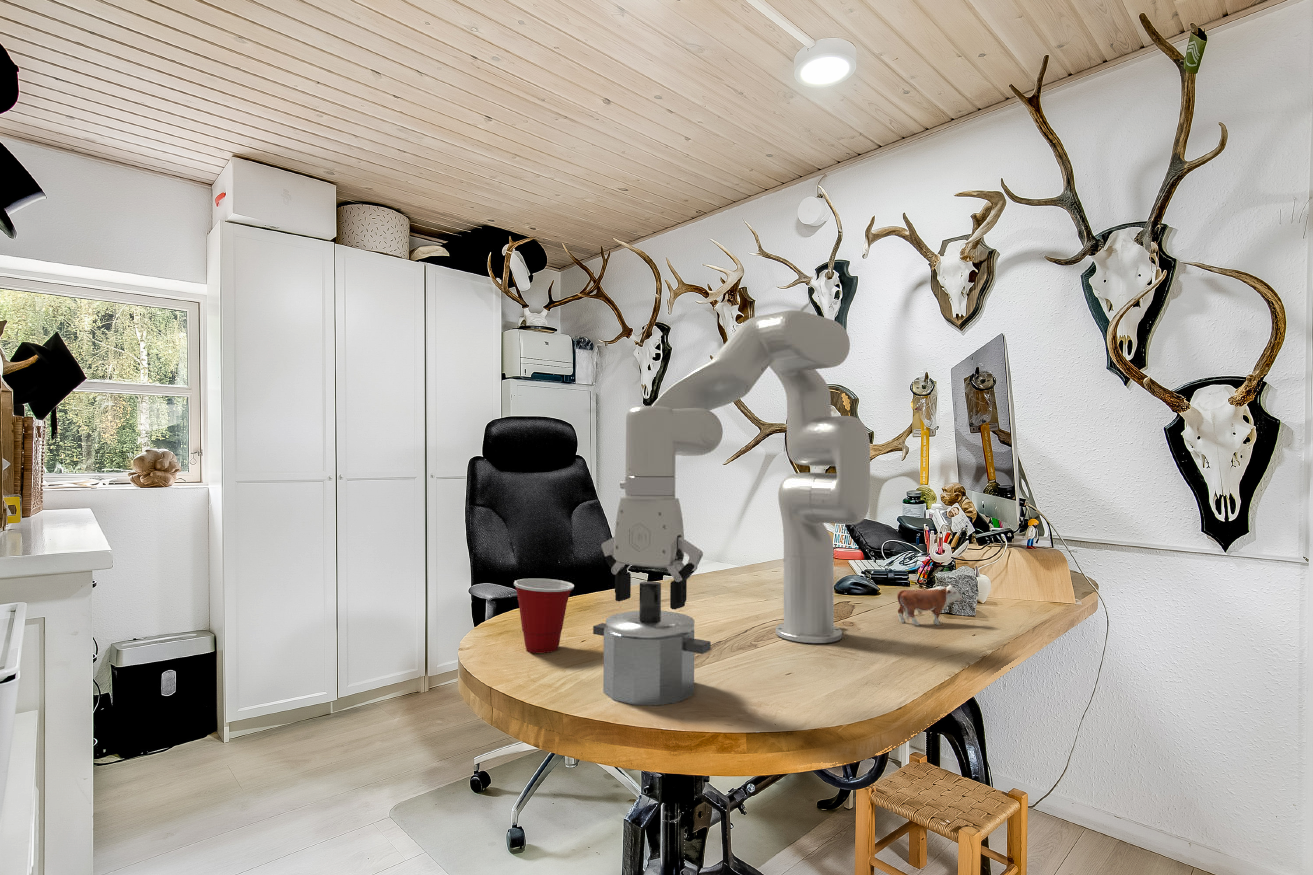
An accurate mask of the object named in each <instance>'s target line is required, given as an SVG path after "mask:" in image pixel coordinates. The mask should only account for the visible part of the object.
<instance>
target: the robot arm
mask: <svg viewBox="0 0 1313 875" xmlns="http://www.w3.org/2000/svg"><path fill="white" fill-rule="evenodd" d="M850 346H851V343H850V337H849V334H848V332H847V330H846V329H845V328H844V326H843V325H842V324H841V323H839V322H838V321H836V320H835V319H834V320H833V319H831V318H826V317H825V316H824V317H823V316H821V315H818V314H814V313H810V312H807V311H801V310H795V309H794V310H793V309H790V310H785V311H779V312H772V313H767V314H763V315H758V316H754V317H751V318H749V319H747V320H746V321H745V320H744V322H742V323H741V324H740V325H739V326H738V328H737V329H736V330H735V332H733V334H732V335H731V336H730V337H729V339H728V340H727V341H726V342H725V343H724V344H723V346H722V347H721V348H720V349H719V350H718V351H717V352H716V353H715V355H714V356H713V357H712V359H711V360H710V361H709V362H707V363H705V364H704V365H702V366H700V367H698V368H697V369H696V370H694V371H692V372H691V373H689V374H688V375H687V376H685V377H683V378H681V379H680V380H678V381H677V382H675V383H674V384H672V385H670V387H669V388H667V389H666V390H664V391H663V392H662V393H661V395H659V397H657V399H656V400H655V401H654V402H653V403H652V404H651V405H641V406H640V405H639V406H633V407H632V408H630V409H629V410H628V411H627V413H626V417H625V477H624V480H621V481H620V482H619V487H620V489H621V490H624V493H625V496H623V497H620V500H619V504H618V507H617V512H616V519H615V527H614V536H613V537H611V538H609V539H608V540H606V541H603V542H602V543H601V546H600V547H601V550H602V552H603V555H604V557H605V562H606V564H608V566H609V568H610V570H611V573H612V575H614V594H615V595H614V597H615V601H616V602H623V601H625V600H628V599H630V598H631V597H632V596H631V595H632V594H631V591H632V588H631V587H632V585H631V583H632V581H631V580H632V577H631V576H632V574H631V572H630V571H628V570H629V569H630V568H631V566H636V567H647V568H655V569H656V568H658V569H663V568H664V569H665V568H666V569H667V571H668V572H669V574H670V575H671V577H672V578H673V580H672V581H670V587H669V588H670V590H669V597H670V599H669V603H670V605H669V608H670V609H671V610H673V611H674V610H679V609H681V608H683V607H685V605H686V602H687V597H688V594H687V593H688V592H687V584H688V582H687V580H689V579H690V578H691V575H692V574H694V573H695V572H696V571H697V569H698V565H699V564H700V562H701V560H702V558H703V556H704V552H703V551H702V549H699V548H698V547H697V546H695V545H694V544H693V543H691V542H689V541H688V540H686V539H685V533H684V521H683V514H682V508H681V502H680V499H679V498H676V462H677V461H676V460H677V459H676V456H682V457H684V456H686V457H687V456H688V457H689V456H691V457H693V456H694V457H696V456H704V455H707V454H709V453H711V452H713V451H715V450H716V449H717V448H718V446H719V445H720V443H721V441H722V439H723V432H724V431H723V425H722V422H721V420H720V419H719V417H718V416H717V415H716V414H715V413H714V412H713V411H712V410H715V409H718V408H722V407H724V406H727V405H729V404H732V403H734V402H736V401H739V400H740V399H741V398H744V397H745V396H747V395H748V394H749V393H750V391H751V390H752V389H753V387H754V386H755V384H757V382H758V380H759V379H760V378H761V377H762V375H764V372H765V371H766V370H767V368H768V367H769V368H770V369H771V370H772V371H773V373H774V374H775V375H776V377H777V378H778V380H779V381H780V383H781V384H782V387H783V389H784V391H785V396H786V449H787V455H788V458H789V460H791V461H792V462H793V463H795V464H797V465H799V466H808V467H809V466H812V467H813V466H814V467H835V471H836V473H833V472H830V473H829V472H827V473H826V472H798V473H792V474H791V475H789V476H787V477H786V478H784V479H783V480H782V481H781V483H780V486H779V488H778V493H777V494H778V497H777V499H778V506H779V511H780V517H781V522H782V532H783V535H782V536H783V622H782V623H779V624H778V625H776V626H775V635H777V636H778V637H780V638H782V639H785V640H788V641H790V642H791V641H792V642H797V643H806V644H827V643H834V642H837V641H839V640H842V638H843V631H842V629H841V628H839V627H837V626H835V625H834V624H835V623H834V618H835V611H834V609H835V608H834V604H835V603H834V601H835V600H834V599H835V598H834V597H835V596H834V595H835V594H834V587H835V586H834V580H835V579H834V576H835V575H834V574H835V573H834V554H835V553H834V543H833V540H832V537H831V534H830V532H829V530H828V529H827V527H826V525H825V524H836V525H837V524H838V525H857V524H859V523H861V522H863V520H864V519H865V518H866V517H867V515H868V512H869V507H870V503H871V502H870V501H871V500H870V499H871V442H870V435H869V433H868V430H867V428H866V427H867V426H866V425H865V424H864V423H863V422H862V420H861V419H859V418H857V417H855V416H851V415H835V416H832V403H831V402H832V398H831V396H832V395H831V390H830V388H829V386H828V383H827V382H826V380H825V379H824V377H823V376H822V375H821V374H820V373H819V371H817V370H819V369H830V368H836V367H838V366H840V365H841V364H843V363H844V362H846V359H847V357H848V355H849V354H850V350H851V349H850ZM824 523H825V524H824ZM685 555H688V560H687V563H686V564H685V563H684V562H683V561H684V559H685V558H684V557H685Z"/></svg>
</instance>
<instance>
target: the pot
mask: <svg viewBox="0 0 1313 875" xmlns="http://www.w3.org/2000/svg"><path fill="white" fill-rule="evenodd" d="M592 627H593V628H592V635H596V636H602V637H603V681H602V682H603V683H602V686H603V687H602V688H603V690H602V691H603V693H604V694H605V695H606V696H608V697H609V698H611V700H613V701H617V702H621V703H624V704H629V705H632V706H665V705H669V704H673V703H674V704H675V703H680V702H683V701H685V700H687V699H688V698H689V697H692V696H693V695H694V694H695V654H701V655H704V654H706V653H708V652H710V651H712V649H711V648H712V647H711V645H712V644H711V643H712V642H711V641H710V640H704V639H698V638H695V629H694V630H693V631H692V632H691V633H689V634H687V635H684V636H680V637H675V638H668V639H634V638H626V637H621V636H617V635H614V634H612V633H609V632H608V631H607V630H606V622H605V623H604V622H601V623H599V624H596V625H593V626H592Z"/></svg>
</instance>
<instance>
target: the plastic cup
mask: <svg viewBox="0 0 1313 875" xmlns="http://www.w3.org/2000/svg"><path fill="white" fill-rule="evenodd" d="M513 586H514V587H515V591H516V595H517V601H518V608H519V615H520V623H521V629H522V633H523V640H524V647H525V649H526V651H527V652H530V653H531V654H533V653H535V654H546V653H551V652H555V651H557V650H558V649H559V645H560V642H561V641H560V640H561V634H562V631H563V628H564V627H563V626H564V620H565V616H566V615H565V614H566V611H567V606H568V605H567V603H568V601H569V597H570V594H571V593H572V590H574V587H575V584H573V583H572V582H569V581H566V580H565V581H564V580H561V579H560V580H559V579H551V578H522V579H517V580H514V582H513Z"/></svg>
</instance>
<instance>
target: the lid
mask: <svg viewBox="0 0 1313 875" xmlns="http://www.w3.org/2000/svg"><path fill="white" fill-rule="evenodd" d="M638 608H639V610H632V611H631V610H630V611H625V612H619V613H616V614H612V615H610V616H608V617H607V618H606V619H605V624H606V630H607V631H608V632H609V633H612V634H614V635H617V636H621V637H626V638H634V639H668V638H675V637H680V636H684V635H687V634H689V633H691V632H692V631H693V630H694V631H695V619H694V618H693V617H691V616H689V615H688V614H684V613H680V612H673V611H667V610H662V583H661V582H660V581H653V580H652V581H641V582H639V607H638Z"/></svg>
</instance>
